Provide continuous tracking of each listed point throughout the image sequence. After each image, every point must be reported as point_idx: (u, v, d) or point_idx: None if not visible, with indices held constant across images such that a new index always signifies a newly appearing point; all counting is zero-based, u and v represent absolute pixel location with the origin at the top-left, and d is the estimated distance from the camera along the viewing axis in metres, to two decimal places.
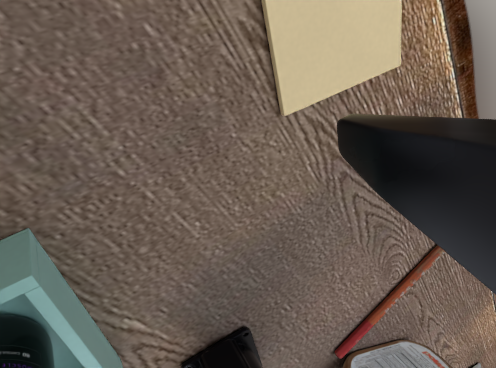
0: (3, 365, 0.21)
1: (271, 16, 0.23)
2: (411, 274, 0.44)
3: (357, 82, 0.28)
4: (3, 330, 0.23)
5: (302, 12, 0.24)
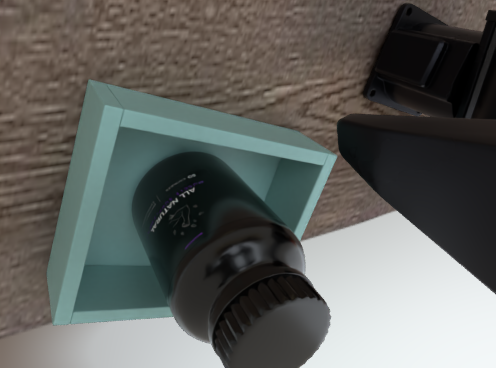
0: (177, 194, 0.20)
1: None
2: None
3: None
4: (162, 173, 0.22)
5: None
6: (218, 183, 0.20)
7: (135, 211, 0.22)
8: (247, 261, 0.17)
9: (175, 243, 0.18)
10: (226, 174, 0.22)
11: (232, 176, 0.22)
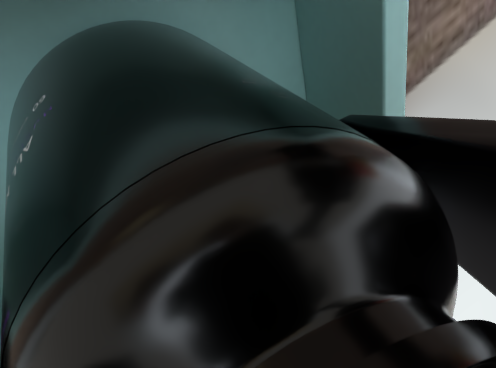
0: (11, 171, 0.07)
1: None
2: None
3: None
4: (11, 124, 0.09)
5: None
6: (84, 90, 0.07)
7: None
8: None
9: None
10: (123, 50, 0.08)
11: (142, 47, 0.08)
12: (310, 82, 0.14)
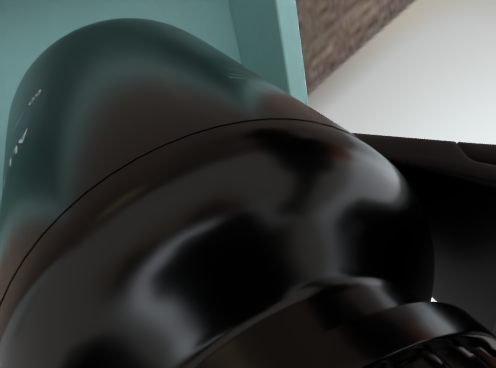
0: (7, 163, 0.07)
1: None
2: None
3: None
4: (9, 118, 0.09)
5: None
6: (77, 84, 0.07)
7: None
8: (147, 363, 0.04)
9: None
10: (116, 47, 0.08)
11: (135, 44, 0.08)
12: (243, 58, 0.18)
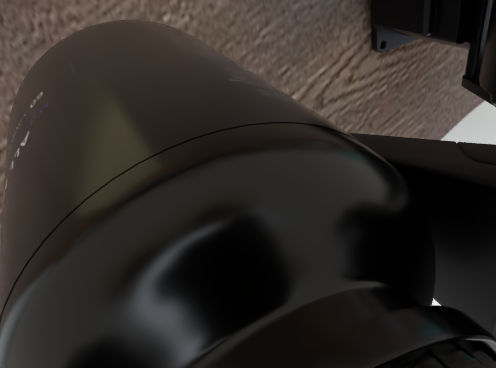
0: (9, 166, 0.08)
1: None
2: None
3: None
4: (11, 120, 0.09)
5: None
6: (78, 87, 0.07)
7: None
8: (150, 367, 0.04)
9: None
10: (118, 50, 0.08)
11: (136, 47, 0.08)
12: None
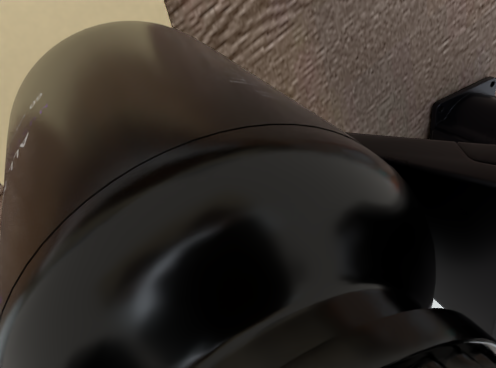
0: (8, 167, 0.07)
1: None
2: None
3: None
4: (10, 121, 0.09)
5: None
6: (78, 88, 0.07)
7: None
8: None
9: None
10: (117, 51, 0.08)
11: (136, 47, 0.08)
12: None
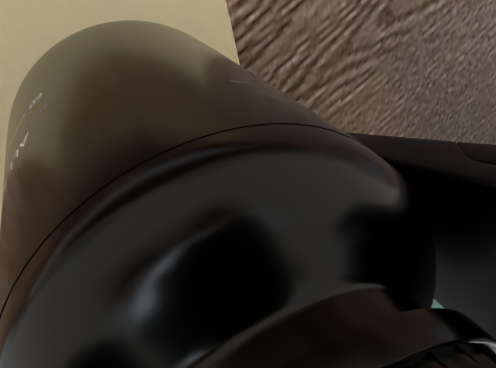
0: (8, 167, 0.07)
1: None
2: None
3: (231, 44, 0.15)
4: (10, 121, 0.09)
5: None
6: (78, 88, 0.07)
7: None
8: None
9: None
10: (117, 50, 0.08)
11: (136, 47, 0.08)
12: None
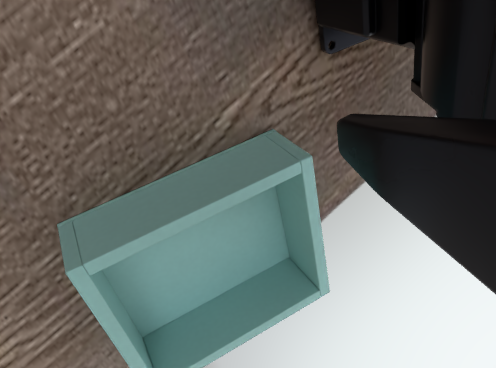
0: None
1: None
2: None
3: None
4: None
5: None
6: None
7: None
8: None
9: None
10: None
11: None
12: (283, 213, 0.28)
